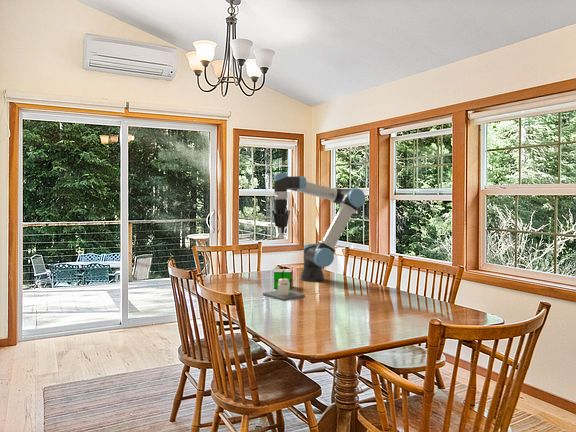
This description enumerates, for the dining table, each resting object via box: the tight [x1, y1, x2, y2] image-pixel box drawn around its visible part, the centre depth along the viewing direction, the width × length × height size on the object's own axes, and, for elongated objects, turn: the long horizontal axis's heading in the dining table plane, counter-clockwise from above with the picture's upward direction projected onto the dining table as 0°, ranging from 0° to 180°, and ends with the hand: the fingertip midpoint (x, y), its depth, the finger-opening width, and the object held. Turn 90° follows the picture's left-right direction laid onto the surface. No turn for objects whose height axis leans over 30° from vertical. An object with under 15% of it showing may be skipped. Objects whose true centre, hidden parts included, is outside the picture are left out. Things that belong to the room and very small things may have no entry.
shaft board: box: [262, 284, 306, 301], centre depth 244 cm, size 15×17×6 cm
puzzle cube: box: [273, 268, 294, 290], centre depth 268 cm, size 10×10×10 cm
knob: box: [277, 279, 290, 295], centre depth 244 cm, size 8×6×8 cm
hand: (281, 238), depth 273 cm, fingers closed
